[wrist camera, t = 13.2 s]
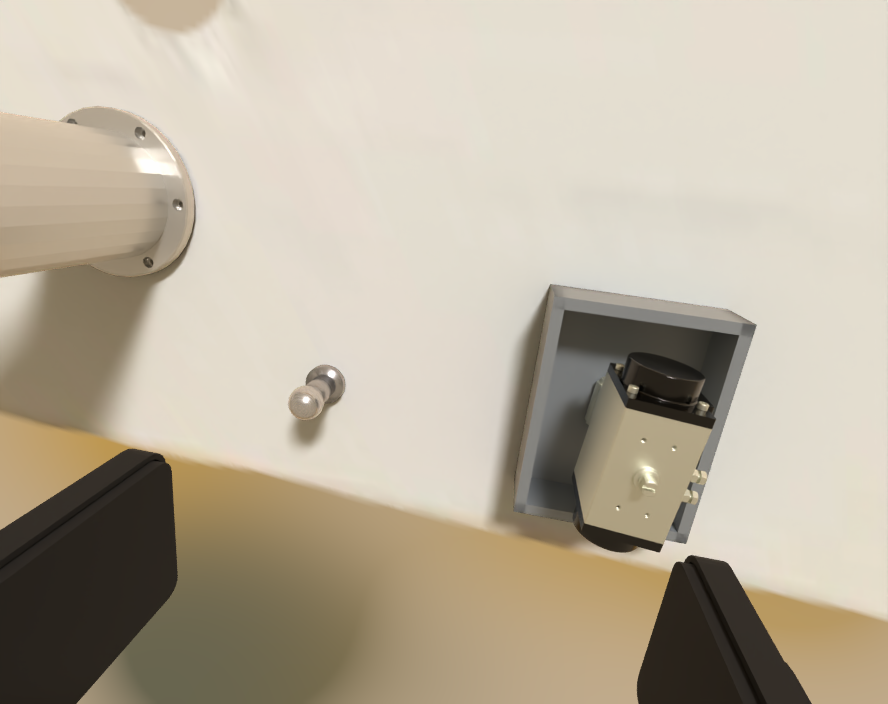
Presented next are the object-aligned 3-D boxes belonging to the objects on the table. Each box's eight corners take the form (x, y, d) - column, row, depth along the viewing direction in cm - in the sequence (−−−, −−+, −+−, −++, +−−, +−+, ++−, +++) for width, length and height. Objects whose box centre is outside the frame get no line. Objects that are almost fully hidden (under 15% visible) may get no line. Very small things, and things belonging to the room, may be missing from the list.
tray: (514, 478, 42) (513, 511, 38) (550, 284, 37) (554, 295, 33) (668, 507, 41) (685, 543, 37) (727, 309, 36) (756, 325, 32)
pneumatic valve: (560, 461, 41) (576, 564, 29) (605, 323, 37) (642, 380, 25) (629, 478, 40) (671, 590, 29) (681, 341, 36) (753, 407, 25)
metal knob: (308, 397, 43) (278, 425, 38) (309, 361, 42) (278, 385, 37) (344, 403, 43) (319, 432, 37) (346, 368, 42) (320, 393, 36)
